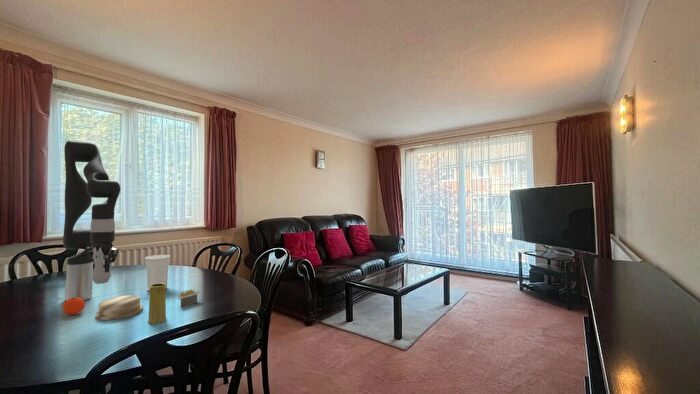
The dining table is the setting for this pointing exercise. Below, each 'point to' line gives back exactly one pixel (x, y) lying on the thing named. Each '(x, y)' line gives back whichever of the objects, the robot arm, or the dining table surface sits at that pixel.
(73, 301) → the clementine
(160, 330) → the dining table surface
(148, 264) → the cup
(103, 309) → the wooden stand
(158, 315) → the vase
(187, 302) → the platform
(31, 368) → the dining table surface
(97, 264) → the salt shaker
